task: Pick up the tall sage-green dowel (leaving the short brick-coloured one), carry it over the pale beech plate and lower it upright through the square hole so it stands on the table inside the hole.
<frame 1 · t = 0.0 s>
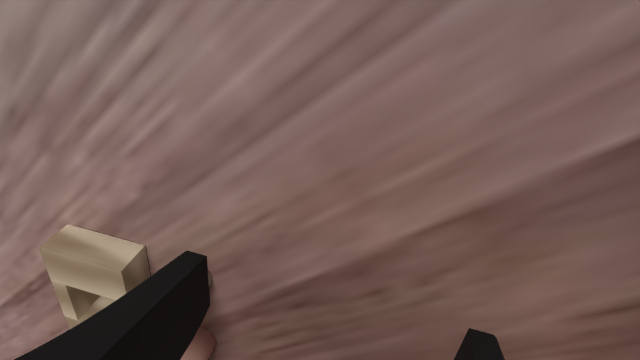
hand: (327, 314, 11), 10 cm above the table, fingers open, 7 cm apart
hole plate: (118, 284, 31), on the table
short pin: (200, 337, 32), on the table
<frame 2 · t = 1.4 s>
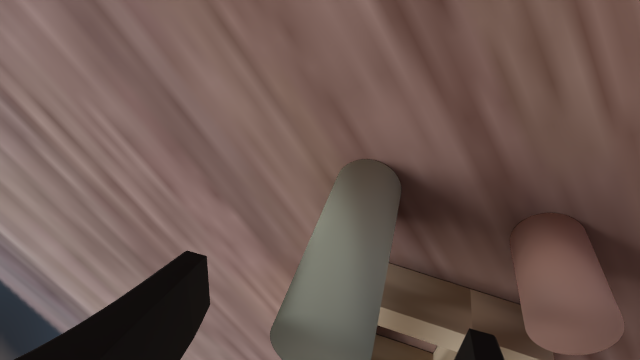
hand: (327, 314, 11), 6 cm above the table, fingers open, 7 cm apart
hole plate: (406, 317, 20), on the table
short pin: (547, 240, 16), on the table
long pin: (368, 188, 16), on the table
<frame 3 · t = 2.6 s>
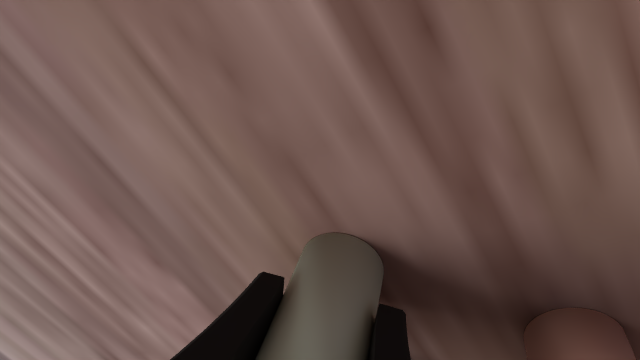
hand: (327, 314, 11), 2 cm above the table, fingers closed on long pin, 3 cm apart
short pin: (572, 339, 12), on the table
long pin: (341, 266, 13), on the table, touching gripper
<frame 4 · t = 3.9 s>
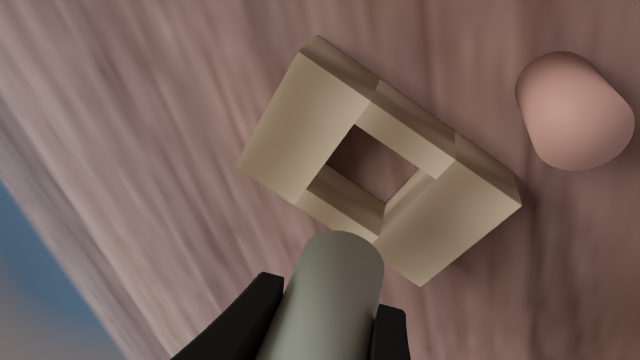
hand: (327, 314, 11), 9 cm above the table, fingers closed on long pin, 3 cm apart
hole plate: (376, 155, 19), on the table
short pin: (553, 86, 15), on the table
long pin: (342, 263, 13), point 7 cm above the table, touching gripper
when the fingers open (3 cm above the table, at t = 5.1 s): long pin drops 1 cm, resting in hole plate.
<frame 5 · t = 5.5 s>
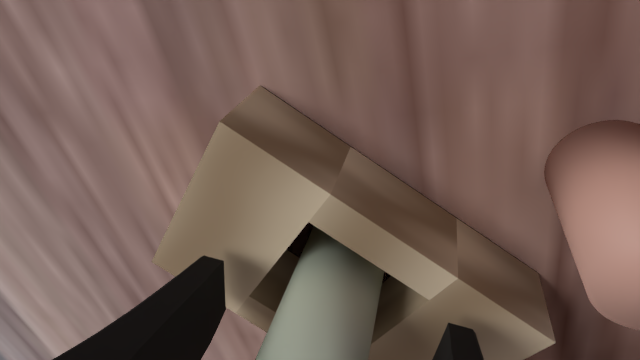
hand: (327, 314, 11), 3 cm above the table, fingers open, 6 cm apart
hole plate: (349, 241, 14), on the table
short pin: (602, 167, 10), on the table
long pin: (349, 241, 14), resting in hole plate
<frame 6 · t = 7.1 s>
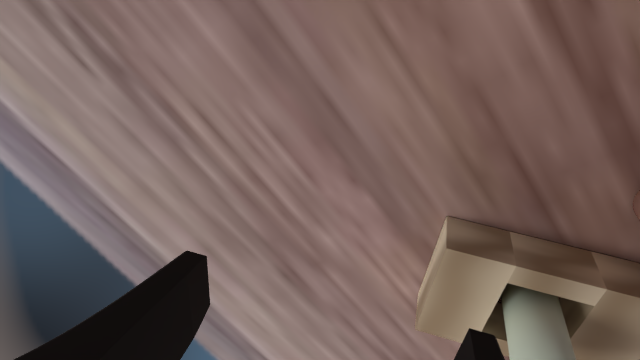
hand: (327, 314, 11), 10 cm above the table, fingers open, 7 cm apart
hole plate: (525, 283, 22), on the table
long pin: (525, 283, 22), resting in hole plate
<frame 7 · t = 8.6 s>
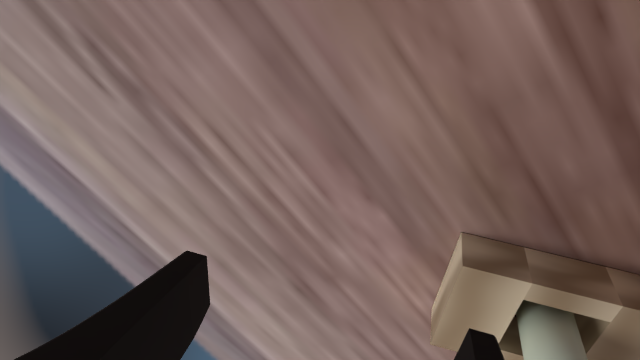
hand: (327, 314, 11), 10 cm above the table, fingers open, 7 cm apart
hole plate: (540, 297, 22), on the table
long pin: (539, 297, 22), resting in hole plate
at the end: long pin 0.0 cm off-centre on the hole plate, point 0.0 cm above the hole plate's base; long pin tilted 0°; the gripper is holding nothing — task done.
